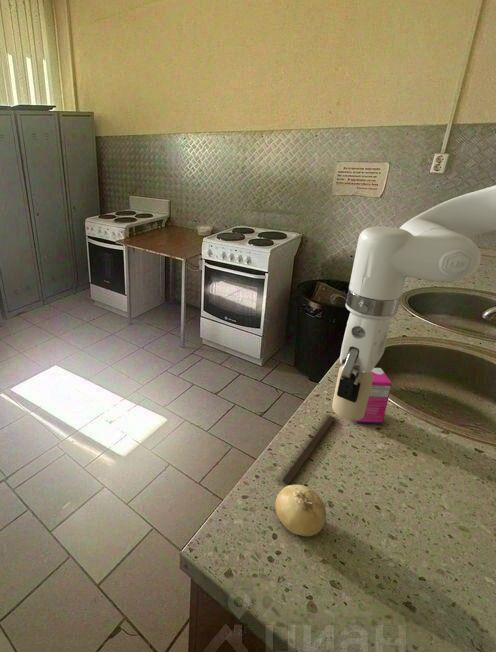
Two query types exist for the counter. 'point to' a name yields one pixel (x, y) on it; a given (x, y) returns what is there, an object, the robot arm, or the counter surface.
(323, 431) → the dark brown thin rod
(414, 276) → the robot arm
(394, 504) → the counter surface
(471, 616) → the counter surface
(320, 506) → the onion
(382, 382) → the supplement box
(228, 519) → the counter surface
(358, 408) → the candle
